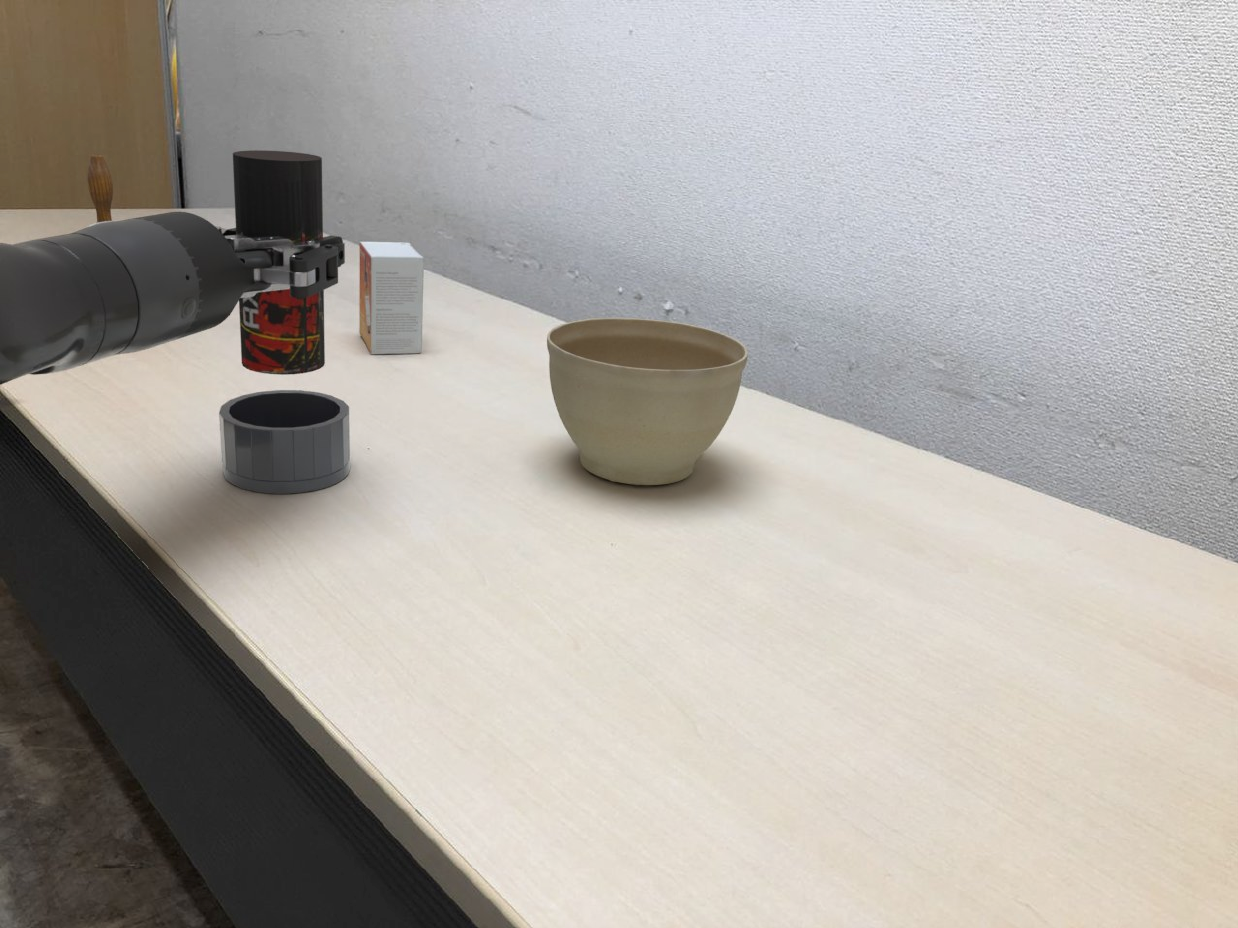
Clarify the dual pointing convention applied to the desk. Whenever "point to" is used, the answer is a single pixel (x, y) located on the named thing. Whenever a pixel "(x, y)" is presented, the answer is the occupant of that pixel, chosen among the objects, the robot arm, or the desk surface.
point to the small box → (391, 297)
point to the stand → (285, 441)
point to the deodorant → (273, 206)
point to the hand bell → (100, 187)
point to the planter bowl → (643, 394)
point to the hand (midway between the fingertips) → (298, 244)
